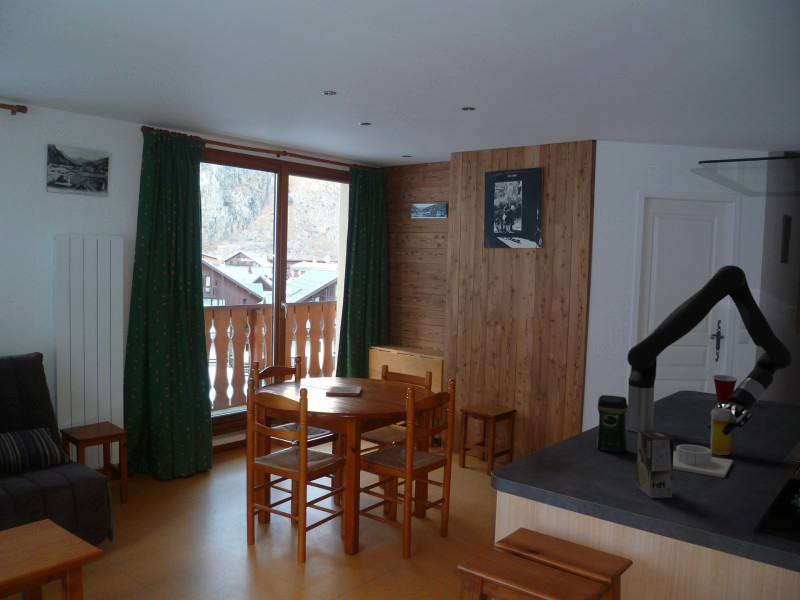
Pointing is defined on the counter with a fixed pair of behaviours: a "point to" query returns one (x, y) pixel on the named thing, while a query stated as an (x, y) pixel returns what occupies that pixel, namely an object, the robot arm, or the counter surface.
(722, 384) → the plastic cup
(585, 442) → the counter surface
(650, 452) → the coffee box
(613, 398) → the coffee jar
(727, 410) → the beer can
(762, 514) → the counter surface
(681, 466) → the base
